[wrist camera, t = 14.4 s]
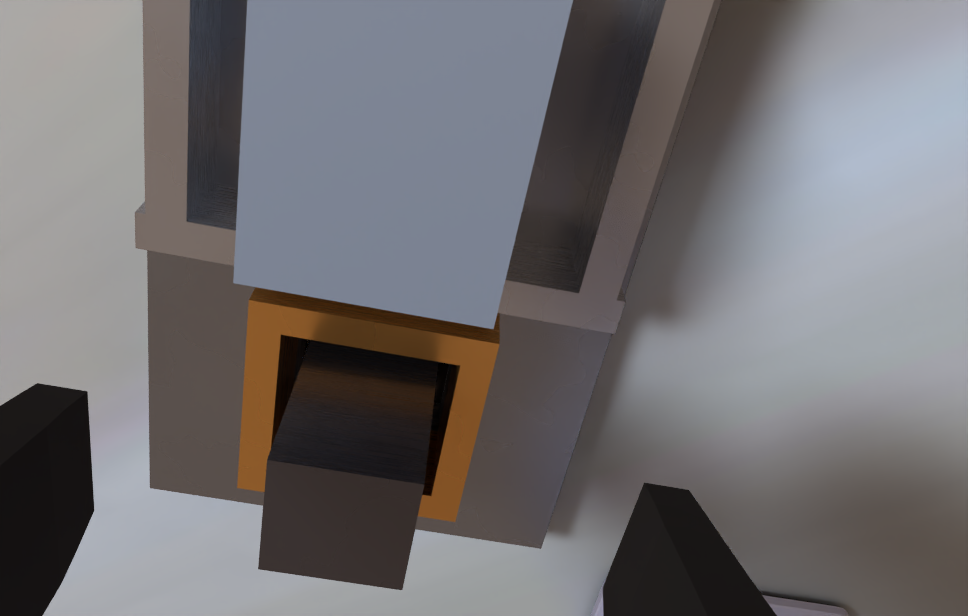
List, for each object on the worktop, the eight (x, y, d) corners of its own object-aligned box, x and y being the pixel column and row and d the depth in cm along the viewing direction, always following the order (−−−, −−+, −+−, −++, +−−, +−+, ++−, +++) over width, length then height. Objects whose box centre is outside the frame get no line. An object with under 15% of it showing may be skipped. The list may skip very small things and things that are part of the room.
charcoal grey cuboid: (428, 380, 22) (402, 589, 16) (324, 363, 22) (258, 568, 16) (446, 291, 21) (424, 484, 15) (335, 272, 21) (267, 459, 15)
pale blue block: (495, 182, 18) (493, 329, 13) (311, 147, 18) (233, 283, 12) (548, -64, 15) (574, -5, 10) (336, -110, 15) (251, -73, 10)
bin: (539, 518, 25) (545, 618, 22) (165, 458, 24) (114, 555, 21) (745, -129, 16) (805, -116, 13) (166, -264, 15) (79, -286, 12)
